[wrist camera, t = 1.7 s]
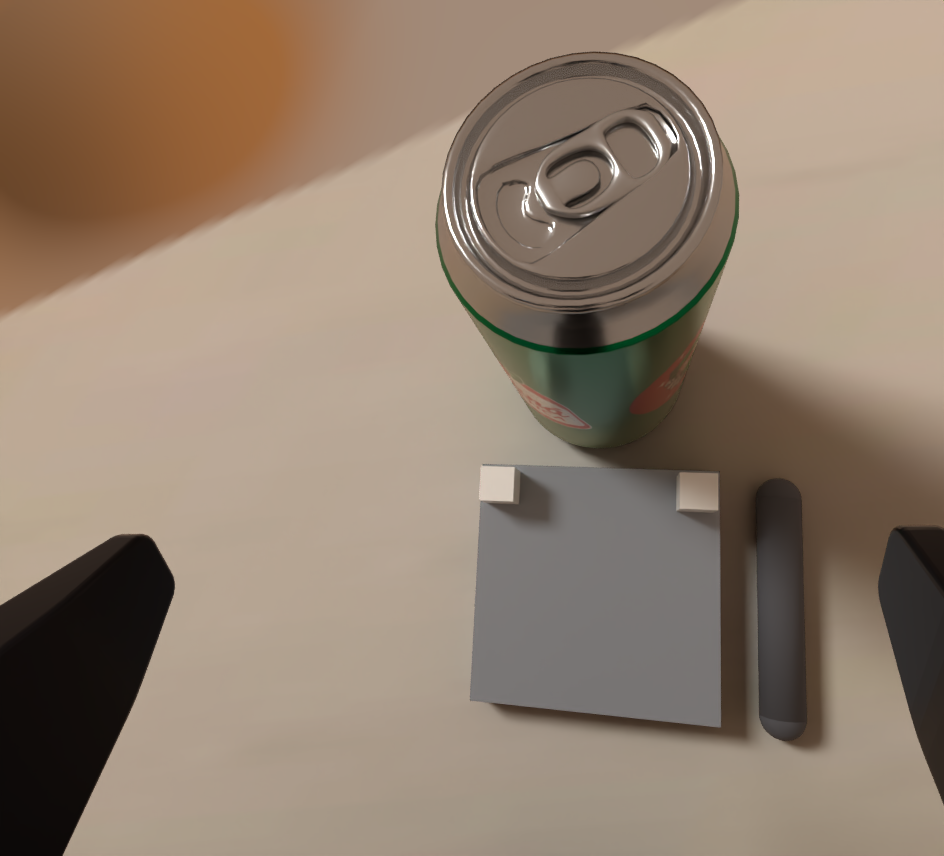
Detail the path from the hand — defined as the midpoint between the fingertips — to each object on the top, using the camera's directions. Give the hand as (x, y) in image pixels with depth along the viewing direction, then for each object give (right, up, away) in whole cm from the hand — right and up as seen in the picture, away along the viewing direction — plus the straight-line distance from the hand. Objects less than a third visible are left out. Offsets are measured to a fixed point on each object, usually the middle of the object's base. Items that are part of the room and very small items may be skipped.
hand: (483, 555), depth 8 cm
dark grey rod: (+9, -4, +12) cm, 15 cm away
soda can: (+4, +3, +14) cm, 15 cm away
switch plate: (+4, -3, +12) cm, 13 cm away
